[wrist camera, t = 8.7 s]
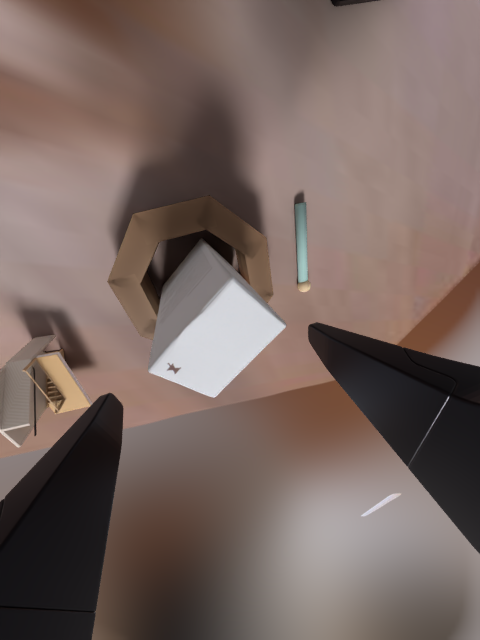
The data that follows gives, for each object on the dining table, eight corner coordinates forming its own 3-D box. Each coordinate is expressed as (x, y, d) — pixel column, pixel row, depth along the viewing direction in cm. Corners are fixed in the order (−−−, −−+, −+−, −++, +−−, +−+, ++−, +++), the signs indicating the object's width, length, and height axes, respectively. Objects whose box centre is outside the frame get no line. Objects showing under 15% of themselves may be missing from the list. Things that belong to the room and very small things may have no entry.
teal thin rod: (290, 205, 18) (298, 205, 17) (304, 201, 19) (312, 201, 17) (295, 290, 23) (301, 295, 22) (306, 287, 23) (313, 291, 22)
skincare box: (197, 309, 21) (212, 402, 11) (161, 285, 19) (141, 374, 9) (235, 266, 20) (291, 326, 10) (201, 235, 18) (230, 273, 8)
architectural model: (75, 329, 19) (26, 387, 13) (103, 378, 23) (74, 443, 17) (34, 335, 19) (-38, 399, 13) (69, 385, 22) (26, 455, 16)
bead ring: (245, 186, 17) (259, 182, 14) (265, 311, 24) (277, 325, 21) (94, 223, 15) (74, 228, 12) (161, 344, 22) (158, 365, 19)
